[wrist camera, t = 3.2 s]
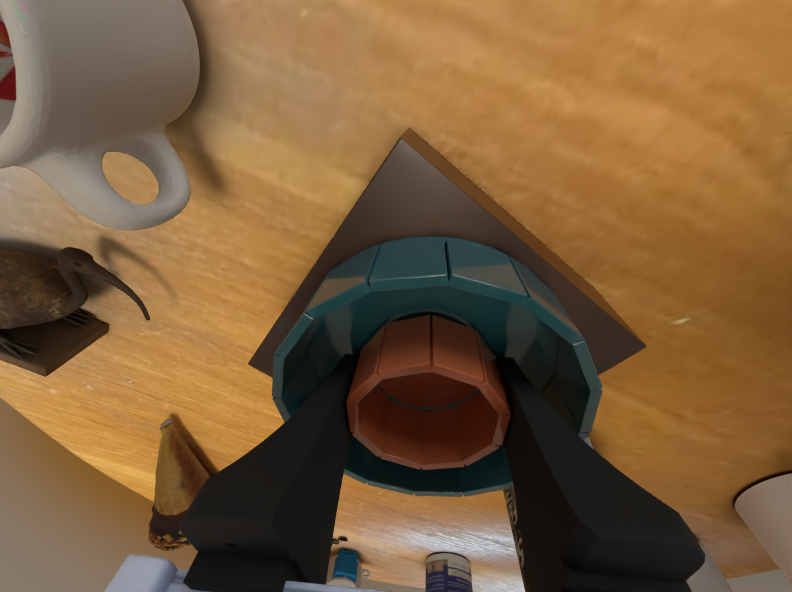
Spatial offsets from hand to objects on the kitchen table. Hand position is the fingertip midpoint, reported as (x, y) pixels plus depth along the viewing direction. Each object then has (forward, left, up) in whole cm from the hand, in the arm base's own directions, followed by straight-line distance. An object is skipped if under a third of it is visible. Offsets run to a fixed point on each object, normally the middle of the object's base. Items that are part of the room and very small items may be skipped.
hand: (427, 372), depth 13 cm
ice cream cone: (+10, +23, -5) cm, 26 cm away
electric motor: (-16, +35, -5) cm, 39 cm away
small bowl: (0, 0, -1) cm, 1 cm away
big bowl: (0, 0, -1) cm, 1 cm away
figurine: (+19, +18, -4) cm, 26 cm away
